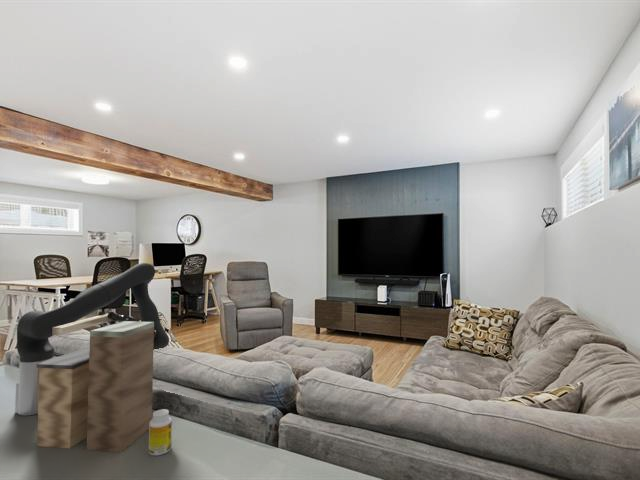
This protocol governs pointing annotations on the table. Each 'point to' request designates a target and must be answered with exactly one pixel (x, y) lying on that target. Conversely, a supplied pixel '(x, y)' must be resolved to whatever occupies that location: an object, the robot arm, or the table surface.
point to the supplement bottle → (160, 432)
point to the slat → (80, 325)
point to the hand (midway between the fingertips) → (104, 314)
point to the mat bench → (63, 400)
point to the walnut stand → (119, 384)
